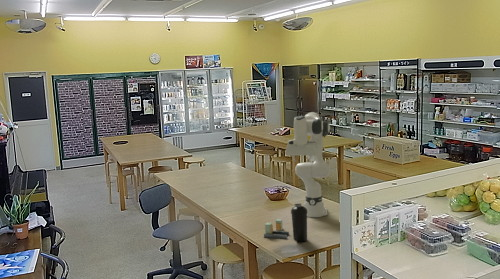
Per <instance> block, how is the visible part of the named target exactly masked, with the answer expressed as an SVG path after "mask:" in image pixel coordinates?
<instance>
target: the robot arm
mask: <svg viewBox="0 0 500 279" xmlns="http://www.w3.org/2000/svg"><path fill="white" fill-rule="evenodd" d="M330 130H331V125H330V123H329V121H327V120H323V119H322V118H321V117H320V115H319V114H318V112H314V111H311V112H307V113H306V114H305V115H298V116H295V117H294V119H293V133H294V136H293V138H292V139H289V140H287V142H286V144H287V145H286V147H285V154H286V155H287V156H291V158H292V160H293V162H294V163H297V158H295V156H306V157H307V162H299V163H297V164H296V165H295V169H294V171H295V172H294V173H295V175H296V176H297V177H298V178H300V180H302V182H303V184H304V186H305V187H304V188H305V201H304V203H303V206H304V207H305V208H306V209H307V218H320V217H324V216H327V215H328V211H327V210H328V209H327V207H325V204H324V201H323V195H322V186H321V184H320V183H319V182H317V181H316V180H315V179H316V178H318V179H319V178H320V179H321V178H328V177H329V176H330V175H331V173H332V172H331V171H332V169H331V166H330V165H329V163H327V162H326V161H325V160H324V157H323V149H324V140H323V138H326V136H328V135H329V133H330ZM308 136H310V138H309V137H308ZM308 139H309V140H308ZM313 178H315V179H313Z"/></svg>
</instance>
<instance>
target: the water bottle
mask: <svg viewBox="0 0 500 279" xmlns="http://www.w3.org/2000/svg"><path fill="white" fill-rule="evenodd" d="M290 215H291V221H292V222H291V223H292V236H293V240H294V241H296V243H297V244H303V243H306V242H308V216H307V209H306V208H305V207H304V205H302V203H294V206H293V207H292V208H291V210H290Z"/></svg>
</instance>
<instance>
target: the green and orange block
mask: <svg viewBox="0 0 500 279" xmlns="http://www.w3.org/2000/svg"><path fill="white" fill-rule="evenodd" d="M264 231H265V233H264V234H273V231H274V226H273V223H272V222H265V224H264Z"/></svg>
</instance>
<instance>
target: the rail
mask: <svg viewBox="0 0 500 279" xmlns="http://www.w3.org/2000/svg"><path fill="white" fill-rule="evenodd" d="M289 236H290V231H283V230H282V231H276V230H273V234H266V233H263V239H268V240H269V239H272V240H273V239H274V240H284V241H285V240H286V241H287V239H288V237H289Z"/></svg>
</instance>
